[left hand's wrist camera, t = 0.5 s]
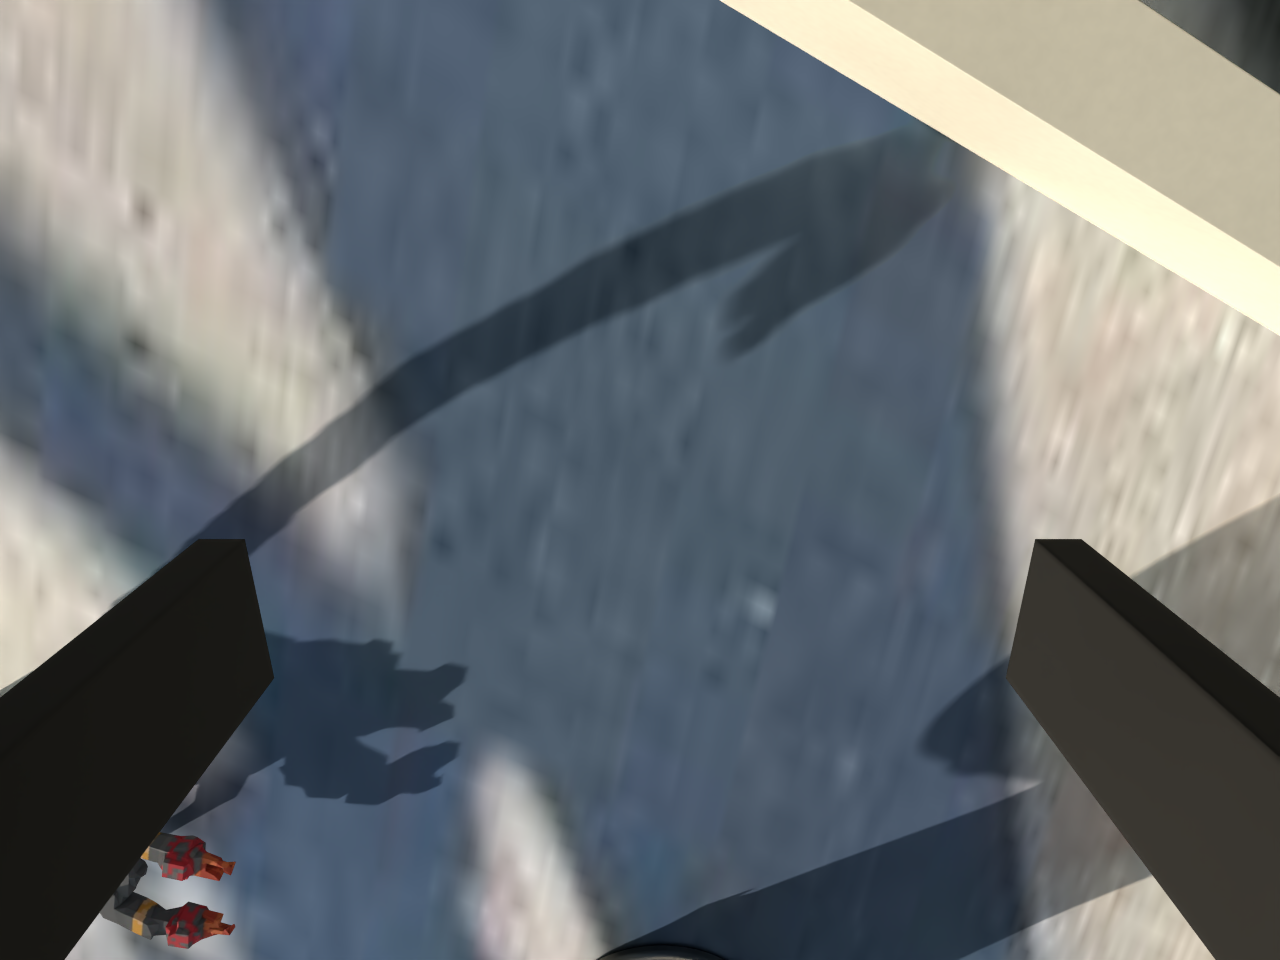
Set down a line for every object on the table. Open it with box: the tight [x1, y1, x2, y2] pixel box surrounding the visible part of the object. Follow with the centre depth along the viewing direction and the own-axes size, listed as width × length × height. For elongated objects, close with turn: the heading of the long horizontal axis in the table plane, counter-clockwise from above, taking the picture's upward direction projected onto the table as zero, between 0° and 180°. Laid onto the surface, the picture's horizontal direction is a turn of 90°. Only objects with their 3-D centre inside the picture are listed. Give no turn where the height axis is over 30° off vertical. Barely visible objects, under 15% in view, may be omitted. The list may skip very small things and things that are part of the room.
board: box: [720, 0, 1280, 335], centre depth 30 cm, size 59×4×9 cm, turn 63°
